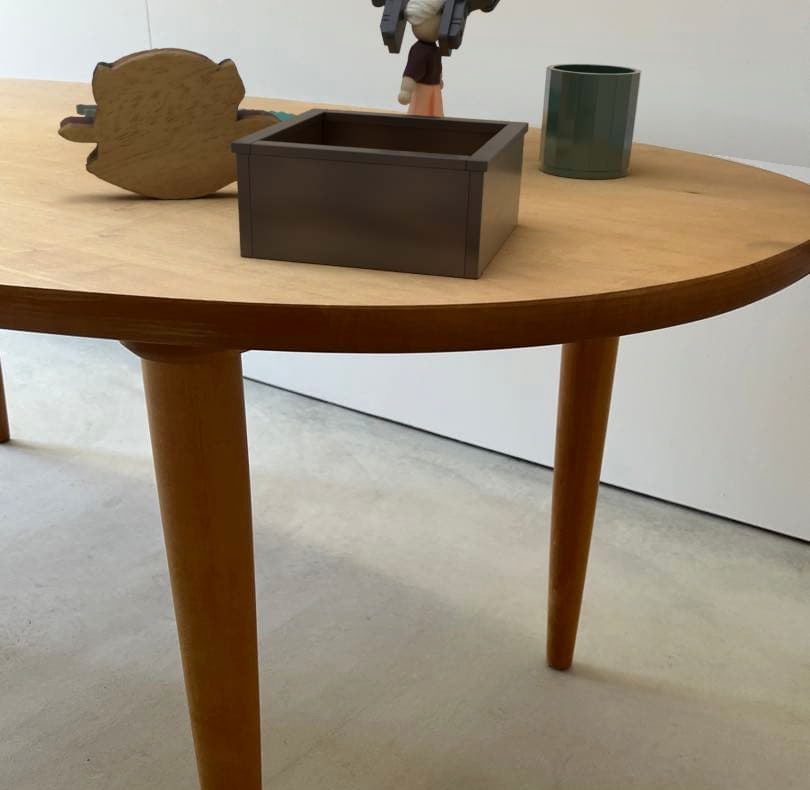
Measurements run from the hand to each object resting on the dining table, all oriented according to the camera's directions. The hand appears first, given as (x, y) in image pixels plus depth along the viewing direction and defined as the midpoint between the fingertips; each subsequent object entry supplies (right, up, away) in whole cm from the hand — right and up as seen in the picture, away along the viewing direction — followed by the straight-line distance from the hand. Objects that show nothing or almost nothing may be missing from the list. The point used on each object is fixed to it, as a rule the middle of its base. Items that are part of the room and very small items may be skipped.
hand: (418, 46), depth 82 cm
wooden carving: (-17, -12, -1) cm, 21 cm away
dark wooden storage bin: (-2, -17, -10) cm, 20 cm away
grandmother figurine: (0, -7, +6) cm, 9 cm away
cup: (+14, -5, +13) cm, 20 cm away
